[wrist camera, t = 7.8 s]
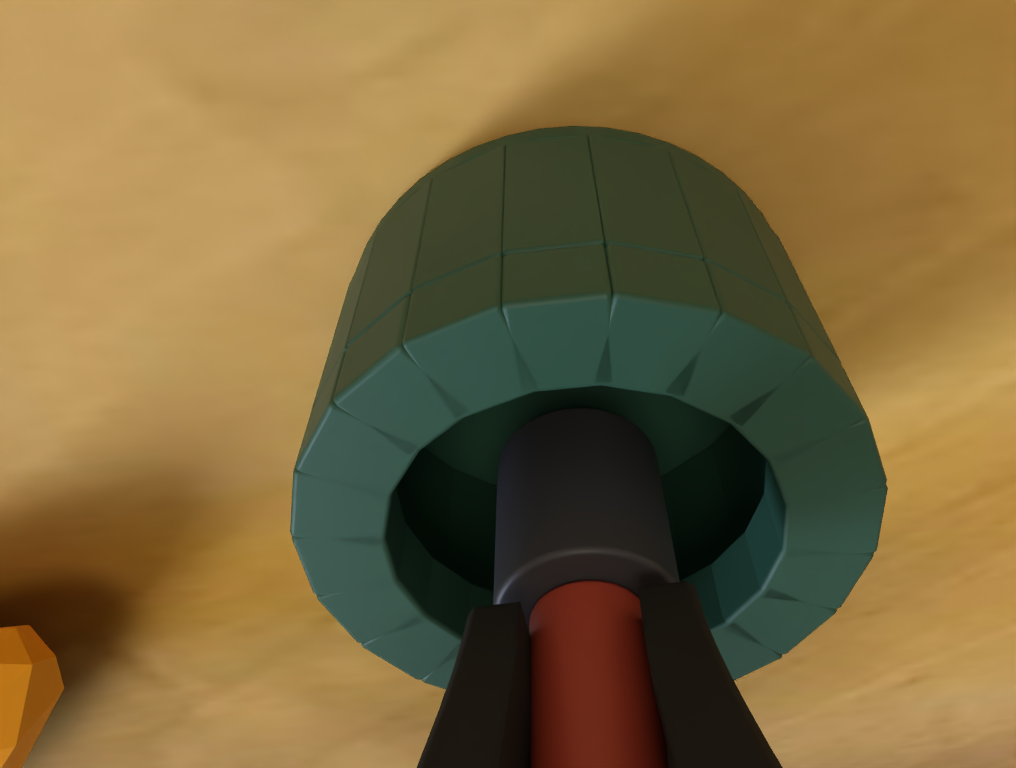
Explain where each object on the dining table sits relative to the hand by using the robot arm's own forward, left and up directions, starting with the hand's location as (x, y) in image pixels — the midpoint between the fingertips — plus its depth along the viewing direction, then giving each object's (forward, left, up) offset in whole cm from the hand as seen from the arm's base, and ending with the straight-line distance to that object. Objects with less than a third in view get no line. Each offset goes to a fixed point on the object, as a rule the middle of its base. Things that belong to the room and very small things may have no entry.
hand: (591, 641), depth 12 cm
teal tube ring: (0, 0, -7) cm, 7 cm away
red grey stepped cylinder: (0, 0, -3) cm, 3 cm away
